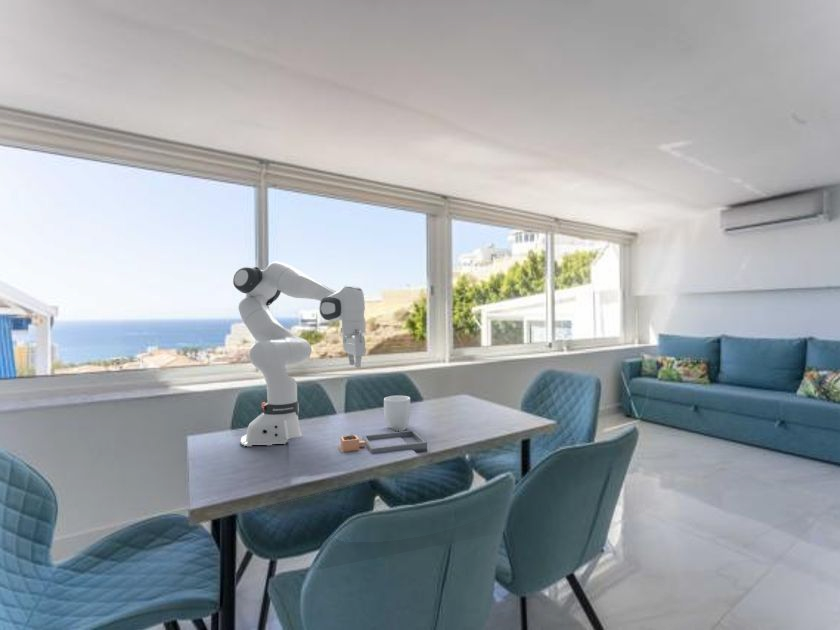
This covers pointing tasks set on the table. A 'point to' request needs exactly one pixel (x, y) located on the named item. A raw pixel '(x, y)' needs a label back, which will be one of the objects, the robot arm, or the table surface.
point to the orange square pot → (349, 437)
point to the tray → (408, 436)
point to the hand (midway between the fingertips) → (354, 366)
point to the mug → (397, 412)
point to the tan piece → (351, 443)
